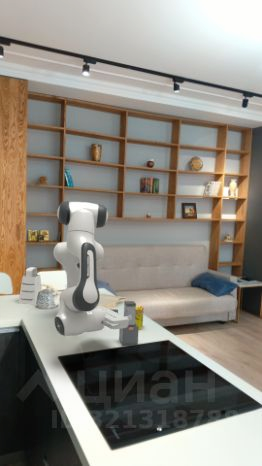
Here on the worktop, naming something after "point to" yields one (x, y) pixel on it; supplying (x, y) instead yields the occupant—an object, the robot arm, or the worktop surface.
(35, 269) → the grater
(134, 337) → the base
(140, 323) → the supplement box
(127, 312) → the jack column
